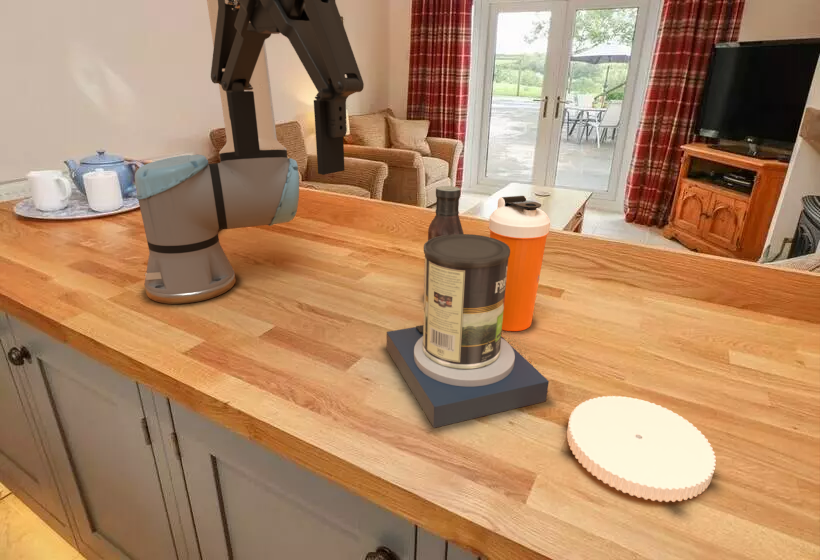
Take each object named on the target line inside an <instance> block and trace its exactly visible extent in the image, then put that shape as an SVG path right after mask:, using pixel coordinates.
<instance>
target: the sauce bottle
mask: <svg viewBox="0 0 820 560" xmlns="http://www.w3.org/2000/svg"><path fill="white" fill-rule="evenodd" d="M435 198H436V204H435V205H436V206H435V216H434V218H433V219H432V220H431V222H430V223H429V225H428V230H427V241H428V240H430V239H433V238H435V237H439V236H444V235H452V234H465V233H464V230H463V225H462V222H461V218H460V216H459V213H460V212H459V205H460V198H461V188H459V187H458V186H454V185H453V186H452V185H451V186H450V185H442V186H437V187H435Z"/></svg>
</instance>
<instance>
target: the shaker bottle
mask: <svg viewBox="0 0 820 560" xmlns="http://www.w3.org/2000/svg"><path fill="white" fill-rule="evenodd" d="M541 207H542V204H541V203H540V202H537V201H533V200H528V198H527V197H526V196H525V195H511V196H501V197H498V200H497V208H496V209H494V210H493V212H492V213H491V214H490V215H489V220H488V221H489V222H488V230H489V237H490V238H494V239H497V240H500V241H502V242H504V243H505V244H507V245H508V246H509V248H510V256H509V258H508V267H507V278H506V289H505V300H504V311H503V322H502V331H507V332H520V331H524V330H527V329H529V328H530V327H531V326H532V322H533V317H534V310H535V305H536V299H537V294H538V288H539V282H540V276H541V272H542V271H541V270H542V265H543V259H544V256H545V255H544V254H545V248H546V242H547V237H548V235H549V234H550V226H551V219H550V218H549V216H548V214H547V213H546V212H545V211H544V210H542V209H540V208H541Z"/></svg>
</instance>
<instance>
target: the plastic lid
mask: <svg viewBox="0 0 820 560" xmlns="http://www.w3.org/2000/svg"><path fill="white" fill-rule="evenodd" d="M570 413H571V414H570V415H569V418H568V425H567V429H566V438H567V442H568V446H569V449H570V451H572V452H571V453H572V455H574V458H575V459H576V460H578V461H577V462H578V463H579V464H581V466H582V468H585V469H586V471H587V472H588V473H591V475H592V476H593V477H594V476H595V477H596V479H597V480H599V481H600V480H601V481H602V483H603V484H607V485H608V486H609V487H611V488H615V490H617V491H621V492H622V493H623V494H629V496H631V497H632V496H633V497H634V496H635V497H637V499H638V498H640V499H641V498H643V500H648V499H649V500H651V501H652V502H655V501H658V502H661V503H662V502H663V501H664V502H665V503H670V501H671V502H673V503H675V502H676V501H678V502H682V501H683V500H684V501H687V500H688V499H690V500H691V499H693V498H694V497H696V498H697V497H698V495H701V494H702V493H703V492H705V491H706V489H708V487H709V486H710V484H711V482H712V479H713V476H714V474H715V470H716V466H717V464H716V463H717V460H716V457H717V456H716V455H715V454H716V453H715V451H714V447H712V444H711V443H710V442H709V440H708V438H706V435H704V434H703V433H702V431H701V430H698V427H696V426H694V424H693V423H692V422H689V420H688V419H686V418H684V416H681V415H679V414H678V413H677V412H673V410H671V409H668V408H667V407H665V406H664V407H663V406H662V405H660V404H656V403H655V402H650V401H649V400H644V399H639V398H638V397H637V398H636V397H634V398H633V397H632V396H629V397H627V396H625V395H623V396H621V395H617V396H616V395H612V396H611V395H607V396H605V395H602V396H597V397H593V398H588V399H586V400H585V401H581V403H579V404H578V405H576V406H575V408H574V409H572V411H571V412H570Z"/></svg>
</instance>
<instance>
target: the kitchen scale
mask: <svg viewBox="0 0 820 560" xmlns="http://www.w3.org/2000/svg"><path fill="white" fill-rule="evenodd" d="M423 326H424V324H421V325H416V326H413V327H407V328H402V329H395V330H389V331H386V351H387V353H388V354H389V356H390V357H391V359H392V361H393V363H394V364H395V366H396V368H397V369H398V372H400V374H401V376H402V378H403V379H404V381H405V383H406V385H407V386H408V387H409V389H410V391H411V392H412V395H413V396H414V398H415V399H416V401H417V403H418V404H419V406H420V408H421V409H422V411H423V413H424V415H425V417H426V418H427V419H428V421H429V423H430V425H431V426H432V428H433V429H437V428H439V427H444V426H448V425H453V424H457V423H461V422H465V421H469V420H470V421H471V420H473V419H477V418H481V417H486V416H490V415H494V414H499V413H502V412H508V411H510V410H516V409H520V408H523V407H528V406H532V405H536V404H540V403H544V402H547V397H548V390H549V385H550V384H549V383H550V381H549V380H548V379H547V378H546V377H545V376H544V374H542V373H541V372H540V371H539V370H538V369H536V367H534V365H532V364H531V363H530V362H529V360H527V359H526V358H525V357H524V356H523V355H522V354H521V353H520V352H519V351H518V350H517V349H516V348H514V347H513V346H512V344H510V343H509V342H508V341H507V340H506V338H504V337H503V336H502V335H501V344H500V348H501V352H500V355H499V357H498V358H497V360H495V361H494V362H493V363H491V364H489V365H487V366H484V367H480V368H475V369H456V368H450V367H446V366H443V365H440V364H438V363H436V362H434V361H432V360H430V359H429V358H428V357H427V356H426V355H425V353H424V351H423V348H422V345H423Z"/></svg>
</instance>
